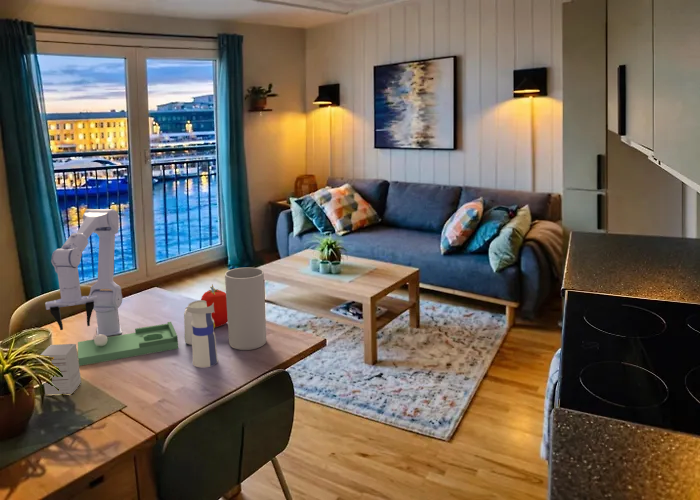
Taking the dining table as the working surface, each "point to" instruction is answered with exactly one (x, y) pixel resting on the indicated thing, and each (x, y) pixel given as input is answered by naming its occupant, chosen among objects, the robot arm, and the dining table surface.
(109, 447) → the dining table surface
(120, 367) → the dining table surface
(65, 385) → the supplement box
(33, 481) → the dining table surface
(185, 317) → the can
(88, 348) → the green mini golf board
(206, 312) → the water bottle
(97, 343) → the ball
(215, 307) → the tomato
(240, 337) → the cylinder vase
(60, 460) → the dining table surface
